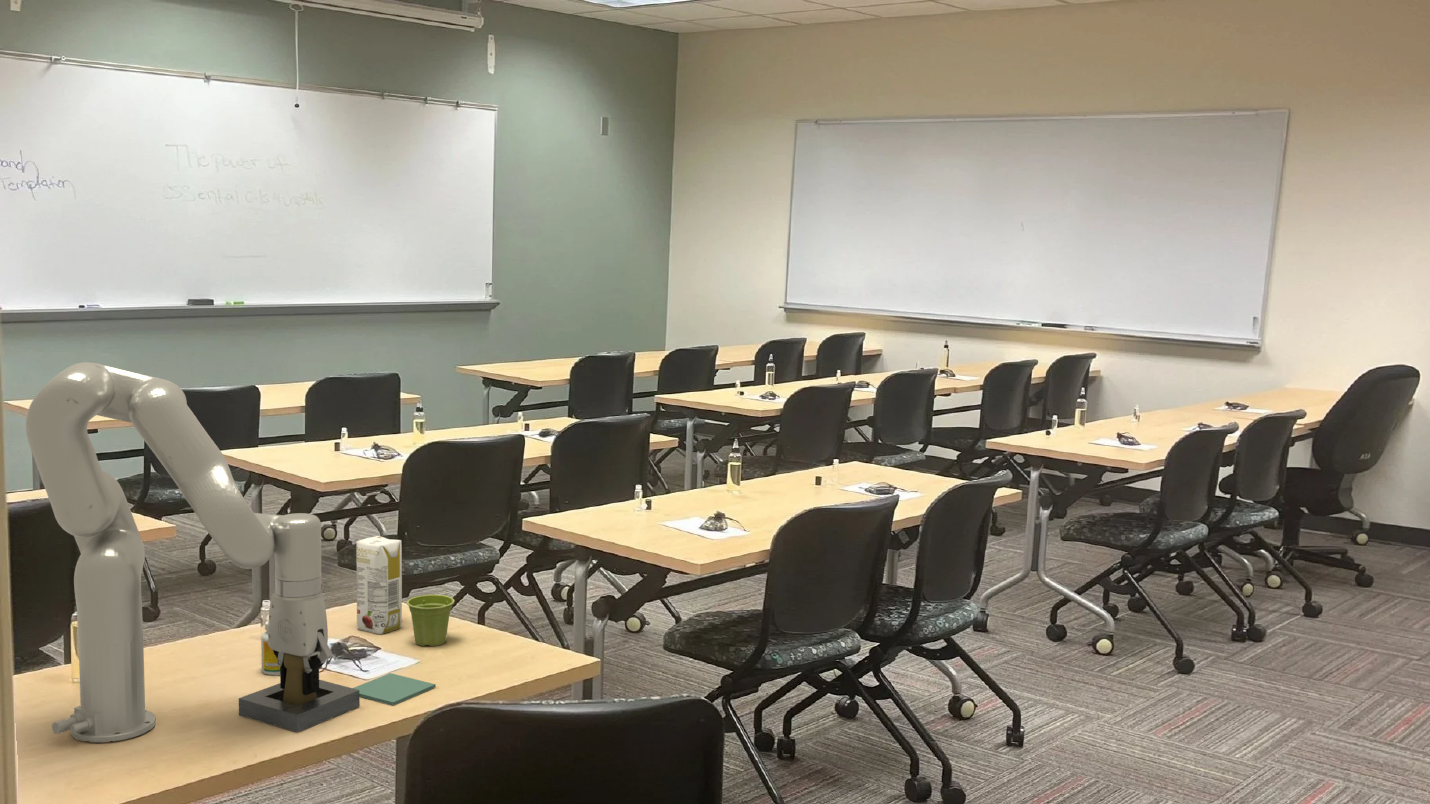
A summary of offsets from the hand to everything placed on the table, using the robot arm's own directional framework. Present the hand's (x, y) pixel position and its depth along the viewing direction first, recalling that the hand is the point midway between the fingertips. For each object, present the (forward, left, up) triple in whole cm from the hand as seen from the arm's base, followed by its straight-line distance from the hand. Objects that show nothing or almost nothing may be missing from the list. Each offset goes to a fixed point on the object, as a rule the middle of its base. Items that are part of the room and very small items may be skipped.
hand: (299, 688), depth 214 cm
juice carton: (+42, +22, -4) cm, 48 cm away
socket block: (0, 0, -4) cm, 4 cm away
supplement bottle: (+12, +19, -4) cm, 23 cm away
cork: (0, 0, -4) cm, 4 cm away
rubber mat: (+16, -6, -4) cm, 18 cm away
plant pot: (+41, +7, -4) cm, 42 cm away
